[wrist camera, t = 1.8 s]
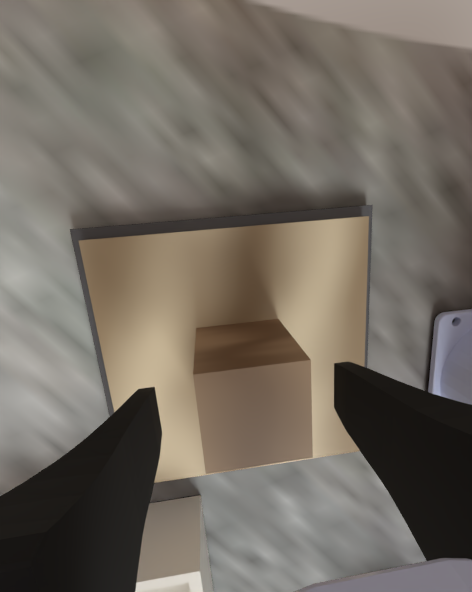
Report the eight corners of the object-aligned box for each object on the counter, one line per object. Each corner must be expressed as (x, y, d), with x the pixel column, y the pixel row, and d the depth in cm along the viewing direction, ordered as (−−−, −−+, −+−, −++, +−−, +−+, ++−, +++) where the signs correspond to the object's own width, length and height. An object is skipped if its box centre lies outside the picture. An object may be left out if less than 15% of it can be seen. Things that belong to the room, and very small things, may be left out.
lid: (362, 216, 14) (446, 212, 9) (356, 443, 17) (417, 529, 12) (84, 239, 13) (11, 249, 8) (132, 477, 16) (101, 587, 11)
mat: (366, 205, 15) (372, 204, 14) (360, 442, 18) (364, 449, 18) (74, 229, 13) (69, 229, 13) (127, 478, 17) (124, 486, 16)
